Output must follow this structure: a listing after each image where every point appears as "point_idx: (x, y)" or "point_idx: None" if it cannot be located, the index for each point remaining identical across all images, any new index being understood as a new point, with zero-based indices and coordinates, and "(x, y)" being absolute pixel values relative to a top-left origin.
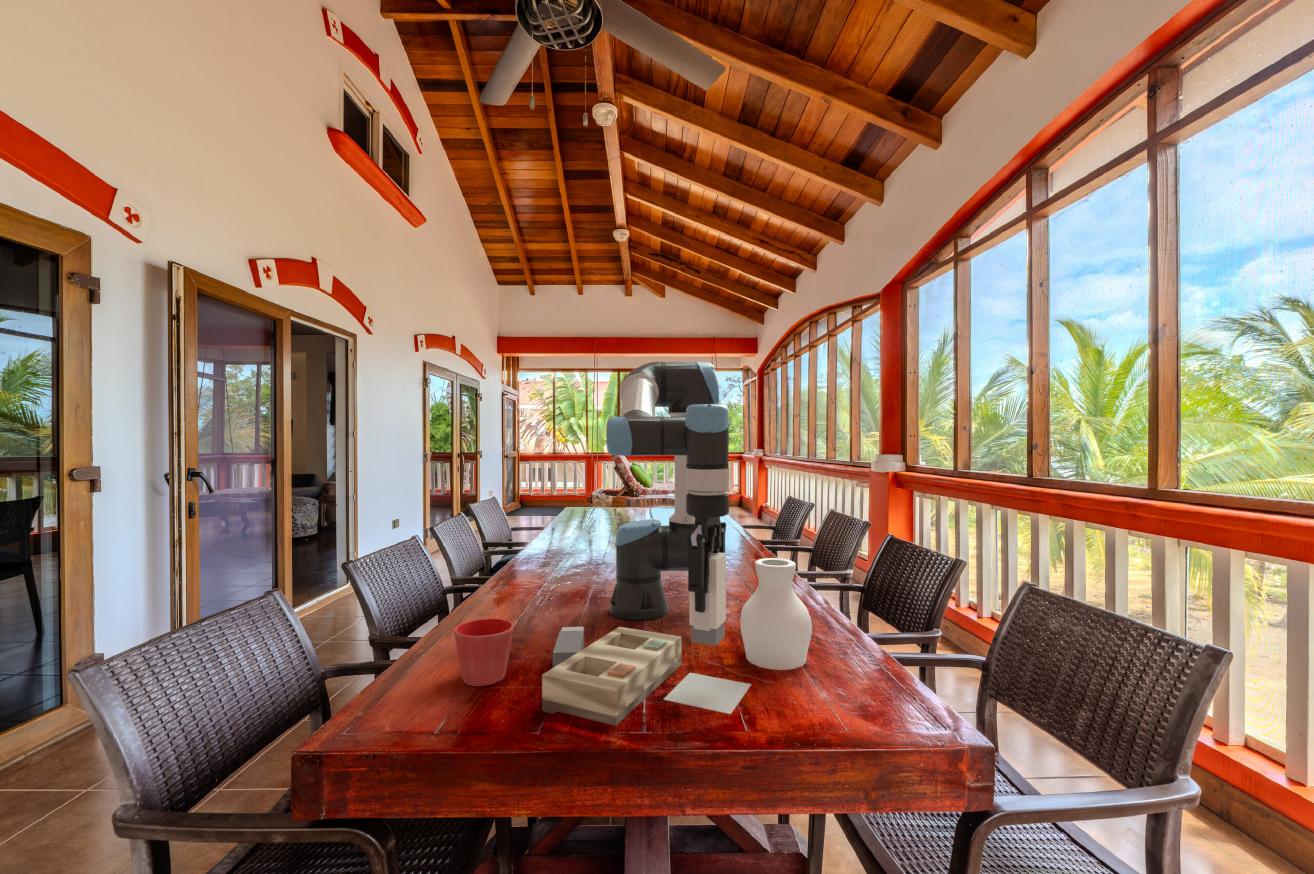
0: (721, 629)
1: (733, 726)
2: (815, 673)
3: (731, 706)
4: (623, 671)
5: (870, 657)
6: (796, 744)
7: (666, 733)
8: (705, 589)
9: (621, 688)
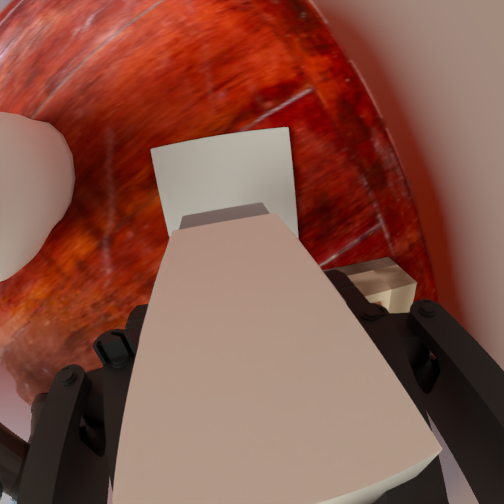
0: (211, 220)
1: (310, 112)
2: (38, 92)
3: (261, 137)
4: None
5: None
6: (306, 16)
7: (374, 194)
8: (389, 313)
9: (400, 284)
